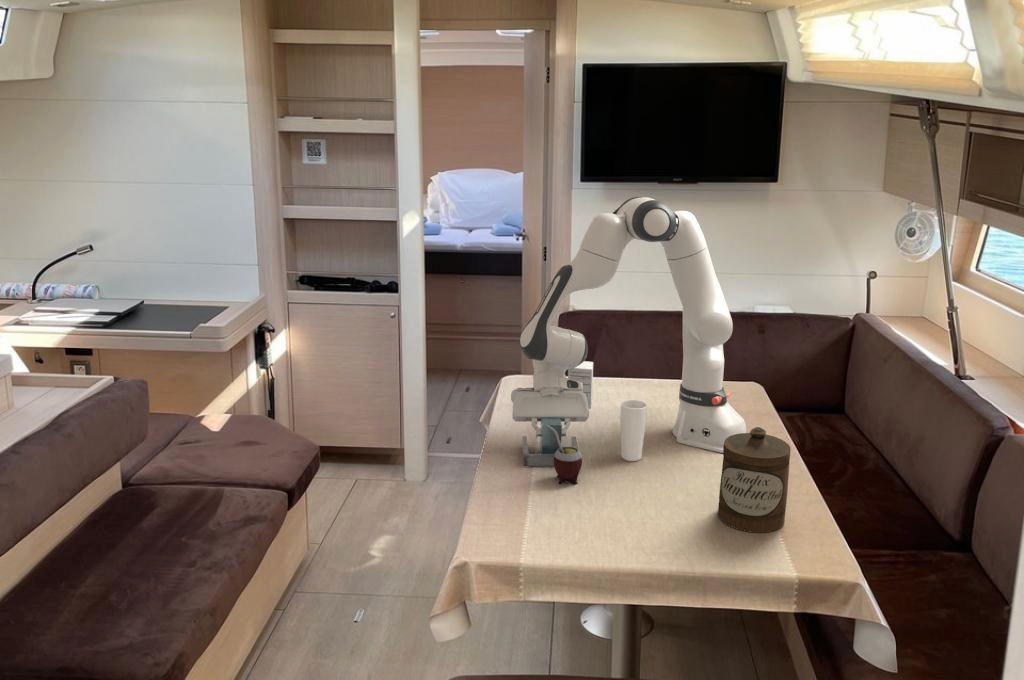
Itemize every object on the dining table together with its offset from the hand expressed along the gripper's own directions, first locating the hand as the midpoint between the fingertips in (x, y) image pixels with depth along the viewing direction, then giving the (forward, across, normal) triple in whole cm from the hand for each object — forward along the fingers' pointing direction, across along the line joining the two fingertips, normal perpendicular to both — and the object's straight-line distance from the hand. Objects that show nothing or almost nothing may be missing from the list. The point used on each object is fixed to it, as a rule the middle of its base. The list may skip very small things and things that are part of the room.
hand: (551, 435), depth 249 cm
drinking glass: (+5, +21, +4) cm, 22 cm away
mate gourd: (+15, +3, -6) cm, 16 cm away
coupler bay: (+4, 0, +4) cm, 6 cm away
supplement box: (-24, +11, +33) cm, 42 cm away
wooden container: (+29, +44, -20) cm, 56 cm away
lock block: (+3, 0, +4) cm, 5 cm away
